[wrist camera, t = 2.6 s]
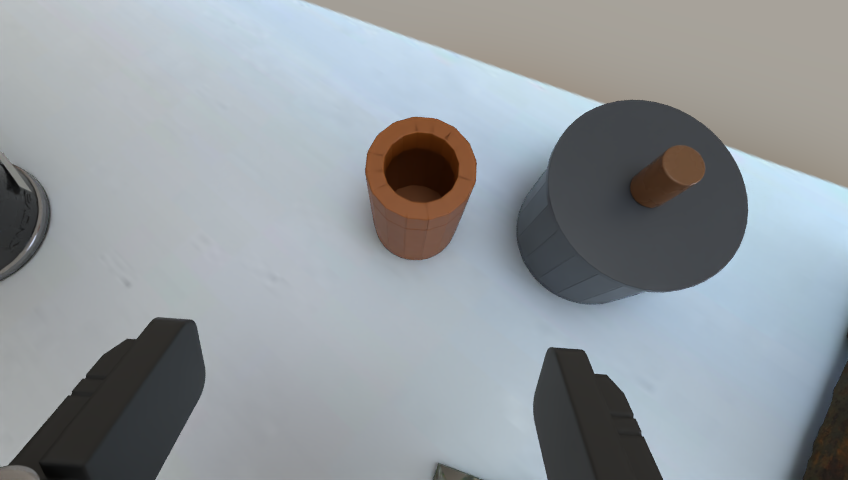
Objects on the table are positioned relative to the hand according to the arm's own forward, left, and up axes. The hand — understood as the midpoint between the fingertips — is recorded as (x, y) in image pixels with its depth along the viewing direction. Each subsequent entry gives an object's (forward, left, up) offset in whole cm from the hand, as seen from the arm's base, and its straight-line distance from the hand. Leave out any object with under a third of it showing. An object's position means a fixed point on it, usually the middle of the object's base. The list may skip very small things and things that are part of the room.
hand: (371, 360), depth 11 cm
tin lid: (+14, +11, -14) cm, 22 cm away
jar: (+1, +11, -23) cm, 25 cm away
